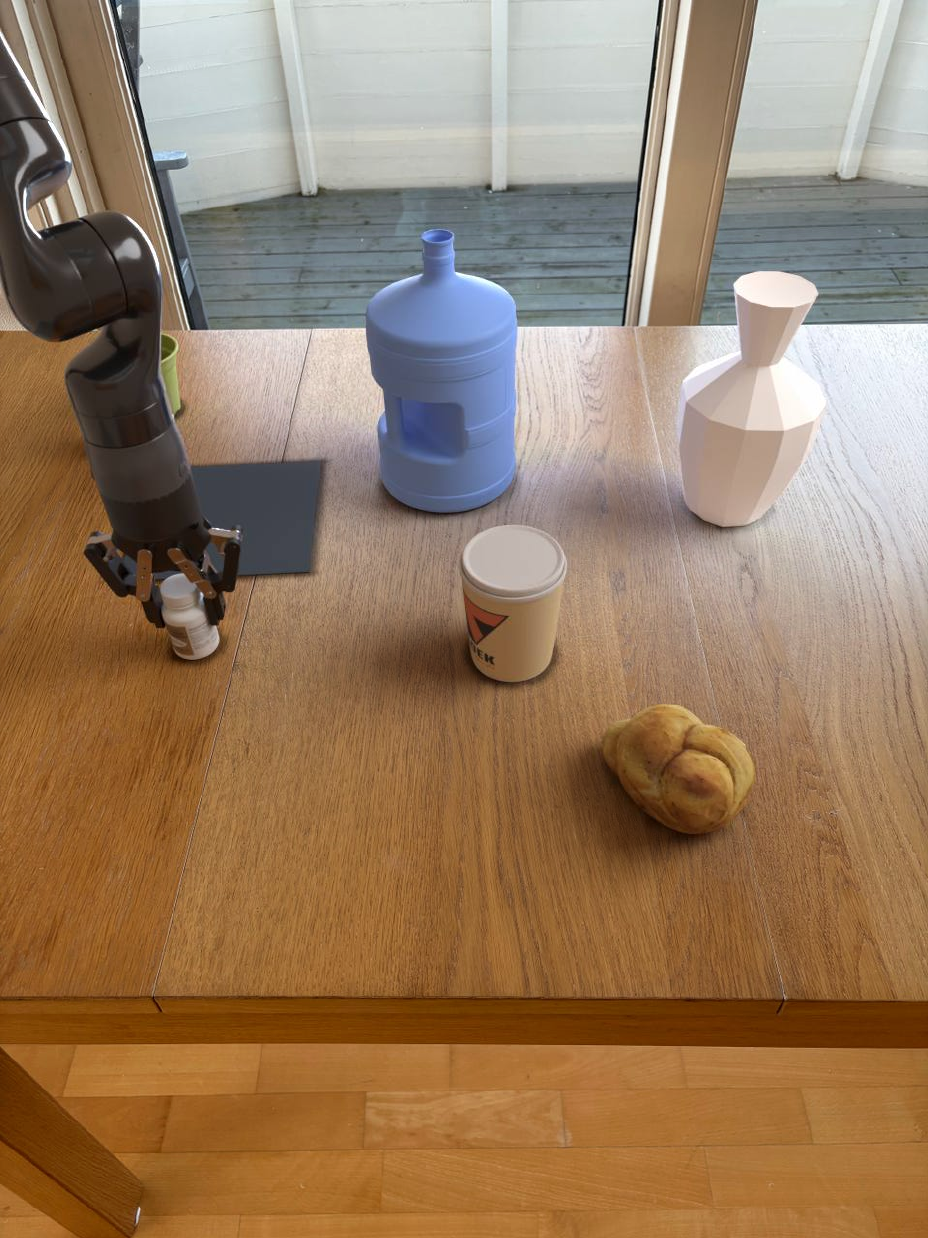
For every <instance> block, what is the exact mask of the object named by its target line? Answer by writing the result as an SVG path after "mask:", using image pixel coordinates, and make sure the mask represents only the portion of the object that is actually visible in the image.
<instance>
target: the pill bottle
mask: <svg viewBox="0 0 928 1238" xmlns="http://www.w3.org/2000/svg"><path fill="white" fill-rule="evenodd" d="M159 587H160V593H161V596H162V599H163V602H164V603H163V604H162V608H161V613H162V616H163V619H164V622H165V629H166V631H167V634H168V637H169V641H170V643H171V645H172V646H171V647H172V649H173V651H174V653H175V654H176V655H177V656H178V657H180V658H182V659H185V660H188V661H189V660H191V661H192V660H201V659H204V658H205V657H208V656H209V655H211V654H212V653H213V652H214V651H216V650H217V648H218V646H219V643H220V634H219V631H218V628H217V626H211V625H210V622H209V619H208V615H207V612H206V608H205V605H204V602H203V596H204V595H203V594H202V593H201V591H200V590H199V589H198V587H197V586H196V584H195V583H193V584H192V583H190V581H189V580H188V579H187V577H186V576H185V575H184V574H176V575H173V576H170V577H168V578H167V579H164V580H163V581H162V583H161V584H160V585H159Z"/></svg>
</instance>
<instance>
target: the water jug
mask: <svg viewBox="0 0 928 1238" xmlns="http://www.w3.org/2000/svg"><path fill="white" fill-rule="evenodd" d="M420 241H421V242H422V245H423V246H422V247H423V250H422V252H421V258H422V262H423V263H422V264H423V271H422V273H420V274H417V275H414V276H411V277H407V278H404V279H401V280H398V281H395V282H393V283H391V284H389V285H387V286H385V287H383V288H382V289H381V290H379V291H378V292H376V293H375V295H374V296H373V297H371V299H370V301H369V302H368V303H367V306H366V310H365V338H366V347H367V352H368V355H369V362H370V363H369V364H370V372H371V376H372V378H373V380H374V381H375V383H376V384H377V385H378V386H379V387H380V389H382V394H383V395H382V396H383V404H384V411H383V412H382V413H381V415H380V416H379V419H378V421H377V426H376V427H377V428H376V432H377V441H378V450H379V457H378V458H379V459H378V463H379V474H380V478H381V479H380V480H381V481H382V484H383V486H384V488H385V489H386V490H387V492H388V493H389V494H390V495H391V496H392V497H393V498H395V499H396V500H397V501H399V502H400V503H402V504H404V505H406V506H408V507H411V508H414V509H416V510H420V511H424V512H430V513H441V514H442V513H444V514H447V513H448V514H449V513H459V512H465V511H470V510H473V509H478V508H480V507H482V506H485V505H488V504H490V503H491V502H493V501H495V500H496V499H498V498H499V497H500V496H501V495H502V494H504V493H505V492H506V490H507V489H508V488H509V487H510V485H511V484H512V482H513V479H514V477H515V474H516V473H515V472H516V453H515V421H516V412H517V391H516V390H517V389H516V355H517V354H516V353H517V352H516V351H517V345H518V320H517V307H516V306H517V305H516V302H515V300H514V298H513V297H512V296H511V294H510V293H509V292H508V291H507V290H506V289H504V287H502V286H501V285H499V284H497V283H495V282H493V281H490V280H489V279H485V278H483V277H480V276H479V277H478V276H474V275H469V274H465V273H461V272H456V270H455V269H456V268H455V258H456V252H455V249H454V244H453V243H454V241H455V233H453V231H450V230H447V229H441V228H437V229H429V230H427V231H425V232H423V233H421V236H420Z"/></svg>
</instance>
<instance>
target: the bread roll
mask: <svg viewBox="0 0 928 1238" xmlns="http://www.w3.org/2000/svg"><path fill="white" fill-rule="evenodd" d="M601 746H602V747H601V751H602V752H601V753H602V755H603V759H604V761H605V763H606V765H607V766H608V768H609V769H610V770H611V771H612V772H613V773H614V774H615V775H616V776H617V777H618V779H619V782H620V784H621V786H622V788H623V790H624V791H625V793H626V794H627V795H628V797H629V798H630V799H631V800H633V802H635V804H636V805H637V806H638V807H639V808H640V810H642V811H643V812H644V813H646V814H647V815H648V816H649V817H651V818H653V819H654V820H655V821H657V822H658V823H660V824H662V825H663V826H665V827H667V828H668V829H671V830H673V831H677V832H679V833H682V834H685V835H690V834H691V835H700V834H701V835H702V834H707V833H711V832H715V831H717V830H720V829H723V828H727V827H728V826H729V825H730V824H731V823H732V821H733V820H734V818H735V817H736V816H737V815H738V814H739V813H740V812H741V811H742V810H743V809H744V808H746V804H747V802H748V800H749V797H750V795H751V794H752V791H753V787H754V784H755V781H756V777H755V776H756V775H755V773H756V771H755V768H754V767H755V766H754V763H753V760H752V756H751V754H750V753H749V751H748V750H747V749H746V746H747V744H745V743H744V742H743V740H741V739H739V737H737V736H736V735H735V734H733V733H731V732H730V731H729V730H728V729H726V728H722V727H719V726H715V725H713V724H705V723H703V721H702V720H701V719H699V718H698V717H697V716H696V715H695V714H694V713H693V712H691V710H688V709H687V708H685V707H683V706H682V705H679V704H665V703H664V704H663V703H660V704H656V705H653V706H649V707H646V708H643V709H642V710H640V711H638V712H637V713H636V714H634V715H633V716H632V717H631V718H628V719H627V718H625V719H620V720H617V721H614V722H613V723H611V724H610V725H609V726H608V727H607V728H606V730H605V732H604V734H603V737H602V741H601Z"/></svg>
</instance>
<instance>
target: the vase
mask: <svg viewBox="0 0 928 1238" xmlns="http://www.w3.org/2000/svg"><path fill="white" fill-rule="evenodd" d="M733 294H734V305H735V313H736V325H737V335H738V336H737V337H738V345H739V350H737V351H735V352H732V353H730V354H727V355H725V356H721V357H718V358H717V359H713V360H712V361H709V362H706V363H703V364H700V365H698V366H696V367H695V368H694V369H693V370H692V371H691V372H690V374H689V375H687V377H686V378H685V379H684V380H683V381H682V382H681V388H680V395H679V400H678V407H677V414H676V415H677V416H676V425H675V433H676V440H677V447H678V449H677V450H678V457H679V464H680V481H681V487H682V494H683V501H684V504H685V505H686V506H687V508H688V509H689V510H690V511H691V512H692V513H693V514H695V515H696V516H697V517H699V518H700V519H702V520H703V521H704V522H708V523H710V524H713V525H715V526H719V527H722V528H727V527H729V528H731V527H744V526H748V525H749V524H752V523H753V522H755V521H758V520H759V519H761V518H763V516H764V515H765V514H766V513H767V512H768V510H769V509H770V508H771V507H772V506H773V504H775V502H777V500H778V499H779V498H780V497H781V496H782V495H783V494H784V493H785V491H786V490H787V489H788V487H789V486H790V485H791V483H793V481H794V480H795V478H796V476H797V474H798V473H799V471H800V470H801V468H802V466H803V465H804V464H805V462H806V460H807V458H808V457H809V455H810V454H811V453H812V451H813V450H814V446H815V443H816V440H817V438H818V435H819V431H820V428H821V425H822V421H823V417H824V414H825V411H826V408H827V407H826V406H827V404H828V403H827V400H826V397H825V396H824V392H823V391H822V388H821V385H820V383H819V382H818V381H816V380H814V379H813V378H812V377H811V376H809V374H807V373H806V372H805V371H803V370H802V369H800V368H799V367H798V366H797V365H795V364H794V363H793V362H791V361H790V360H789V359H788V358H786V357H785V354H786V353H787V351H788V349H789V348H790V346H791V344H792V342H793V340H794V338H795V337H796V335H797V333H798V332H799V329H800V328H801V326H802V324H803V323H804V321H805V319H806V317H807V316H808V314H809V312H810V310H811V308H812V306H813V304H814V303H815V301H816V299H817V297H818V296H819V291H818V288H817V287H816V285H815V283H813V282H811V281H810V280H808V279H806V278H805V277H803V276H801V275H798V274H797V275H796V274H792V273H788V272H783V271H780V270H779V271H778V270H775V271H774V270H773V271H772V270H771V271H770V270H769V271H767V270H766V271H765V270H757V271H754V272H751V273H746V274H743V275H741V276H740V277H739V278H737V280H736V281H735V282H734V283H733Z"/></svg>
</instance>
